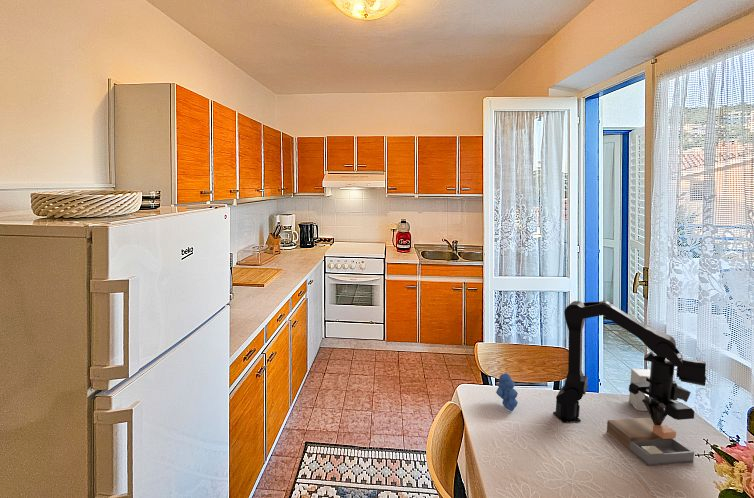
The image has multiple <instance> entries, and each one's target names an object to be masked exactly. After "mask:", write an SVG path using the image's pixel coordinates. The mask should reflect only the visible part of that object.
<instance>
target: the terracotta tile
mask: <svg viewBox="0 0 754 498" xmlns="http://www.w3.org/2000/svg"><path fill="white" fill-rule="evenodd" d="M653 432H654V433H655V434H657V435H658V436H659V437H661V438H662V439H671V438H674V439H676V438H677V431H676V430H675V429H673V428H671V427H670V426H668V425H667V424H661V425H653Z"/></svg>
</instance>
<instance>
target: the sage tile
mask: <svg viewBox="0 0 754 498" xmlns="http://www.w3.org/2000/svg"><path fill="white" fill-rule="evenodd" d="M641 448H642V449H643V450H644V451H646V452H647V453H648V454H661V453H663V452H662V451H660V450H659V449H658V448H656V447H655V446H641Z"/></svg>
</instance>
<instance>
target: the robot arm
mask: <svg viewBox="0 0 754 498" xmlns="http://www.w3.org/2000/svg"><path fill="white" fill-rule="evenodd" d="M601 316H604V318H606V319H608V320H610V321H611V322H612V323H614V324H616V325H617V326H619V327H621V328H622V329H624V330H625V331H627V332H629V333H630V334H632V335H633V336H635V337H636V338H638V339H639V340H641V342H642V343H643V344H644V345H645V346H646V348H648V349H649V350H650V352H649V353H647V354H644V357H643V361H646V362H650V369H649V370H650V377H646V381H648V382H649V384H647V383H646V382H633V383H631V384H630V383H629V385H628V392H629V393H630V392H631V393H633V394H638V391H640V392H642V393H644V396H645V398H644V399H643V400H642V402H644V404H645V406H646V408H647V410H648V411H647V412H648V414H649V416H650V419H651V420H652V421H653V423H654V425H663V422H664V420H665V419H666V417H667V416H669V417H670V418H672V419H673V420H678V421H681V420H693V419H695V410H694V409H693V408H692V407H690V406H688V405H687V404H685V403H683V402H677V403H676V402H675V401H678V400H682V401H684V402H688V400H689V398H690V396H691V391H690V390H688V389H686V388H683V387H682V386H679V385H678V383H677V382H676V381H675V380H674V375H675V374H674V373H675V367H676V378H678V380H680V382H682V383H686V384H693V385H697V386H702V387H706V381H707V375H706V374H707V373H706V367H707V366H706V365H707V364H706V363H707V362H706V361H705V360H695V359H689V358H684V357H683V355H682V353H681V351H679V349H678V348H677V343H676V340H675V338H674V337H672V335H671V334H670V335H669V334H668V333H666V332H663V331H661V330H658V329H655V328H653V327H649V326H647V325H645V324H644V323H642V322H641V321H639V320H637V319H636V318H634V317H633V316H631V315H630V314H628V313H626V312H625V311H623V310H621V309H620V308H618V307H617V306H614V305H613V304H612V303H611V302H610V301H608V300H601V301H587V302H582V301H579V300H574V301H572V302H570V303H569V304H568V305H567V306H566V307H565V309H564V318H565V324H566V326H567V330H568V353H567V354H568V358H567V359H568V360H567V361H568V365H567V366H568V368H567V369H568V372H567V375H566V378H565V381H564V385H563V386H562V387H561V388H560V390H559V391H558V393H557V394H556V396H555V398H556V399H555V401H556V403H555V404H556V405H555V411H552V414H553V416H555V417H556V418H557V419H558V420H560V421H561V422H562V423H579V422H581V421H582V420H581V419H580V418H579V417H580V407H581V406H580V400H581V399H582V398H583V396H584V395H586V393H587V391H588V389H589V386H588V380H589V376H588V375H584V373H583V329H584V326H585V322H586V319H590V318H595V317H601Z"/></svg>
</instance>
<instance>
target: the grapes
mask: <svg viewBox="0 0 754 498" xmlns="http://www.w3.org/2000/svg"><path fill="white" fill-rule="evenodd" d="M515 385H516V383H515V381H514V380H512V377H511V375H510V374H509V373H506V372H505V373H502V374H500V376H499V378H498V383H497V389H496V392H495V394H496V395H497V396H498V397H499V398H500V399H502V403H501V404H502V405H503V407H504V408H506V409H507V410H508V411H509V412H513V411H514V410H515V408H517V406H518V403H519V402H518V400H517V399H516V398H517V397H518V394H519V393H518V391H517V390H516V389H514V388H515Z"/></svg>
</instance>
